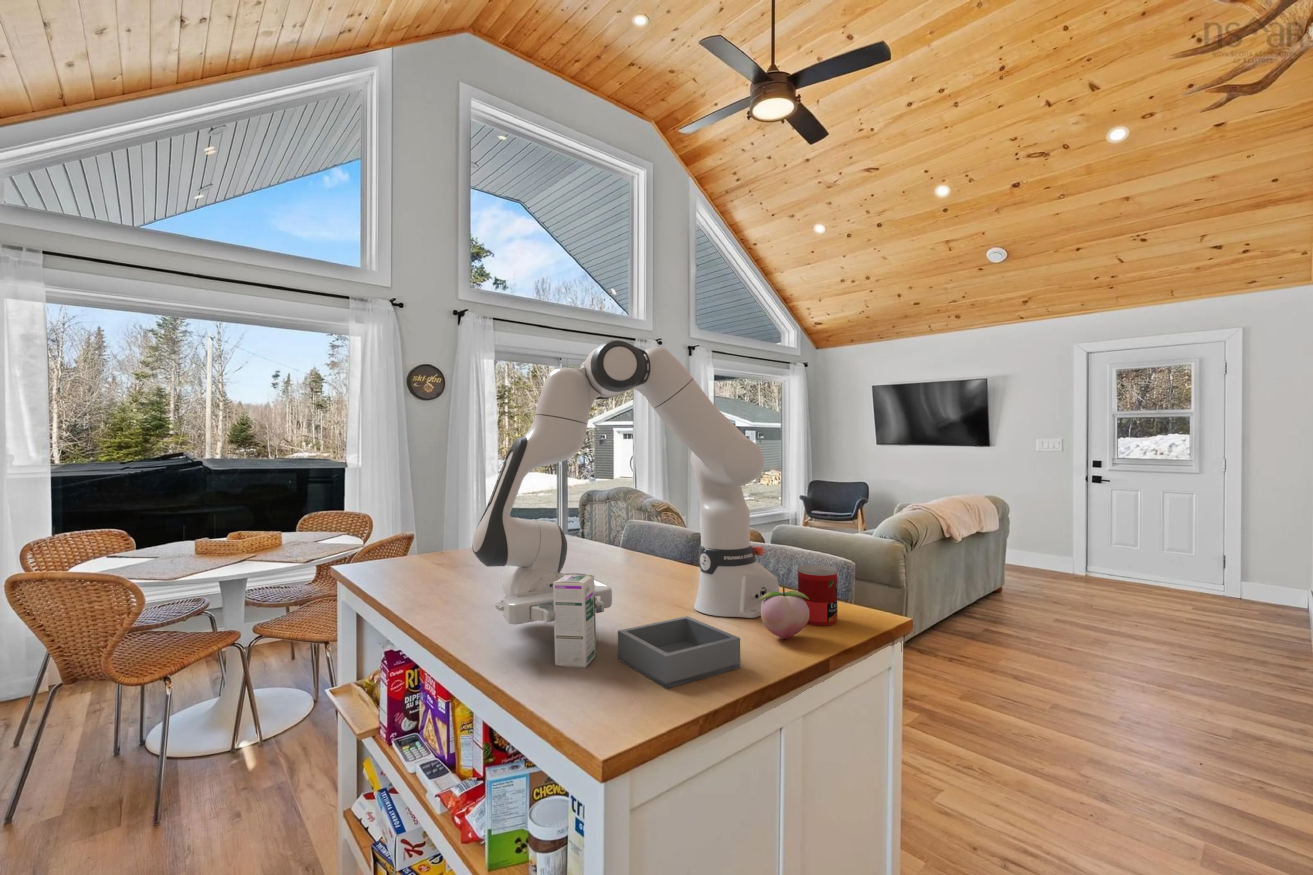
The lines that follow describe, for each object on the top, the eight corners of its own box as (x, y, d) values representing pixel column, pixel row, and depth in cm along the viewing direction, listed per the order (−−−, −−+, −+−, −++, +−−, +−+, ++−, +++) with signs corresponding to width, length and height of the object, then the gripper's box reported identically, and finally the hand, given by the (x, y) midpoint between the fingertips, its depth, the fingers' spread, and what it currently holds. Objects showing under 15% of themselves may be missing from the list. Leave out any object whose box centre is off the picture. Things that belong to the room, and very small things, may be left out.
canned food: (836, 628, 120) (836, 573, 120) (796, 624, 123) (795, 570, 123) (838, 617, 127) (838, 565, 127) (800, 613, 130) (800, 563, 130)
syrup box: (586, 668, 100) (585, 582, 100) (553, 666, 101) (552, 580, 101) (596, 656, 106) (596, 574, 106) (565, 654, 107) (564, 573, 107)
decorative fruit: (799, 630, 119) (798, 580, 119) (815, 644, 111) (814, 590, 111) (753, 632, 118) (753, 582, 118) (766, 647, 109) (765, 592, 109)
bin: (687, 642, 112) (687, 616, 112) (740, 667, 100) (740, 637, 100) (618, 659, 104) (617, 630, 104) (666, 689, 91) (665, 656, 91)
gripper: (491, 586, 109) (518, 603, 97) (592, 572, 120) (626, 586, 109) (492, 621, 109) (518, 642, 97) (592, 603, 120) (626, 620, 109)
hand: (576, 612), depth 103 cm, fingers open, 8 cm apart
